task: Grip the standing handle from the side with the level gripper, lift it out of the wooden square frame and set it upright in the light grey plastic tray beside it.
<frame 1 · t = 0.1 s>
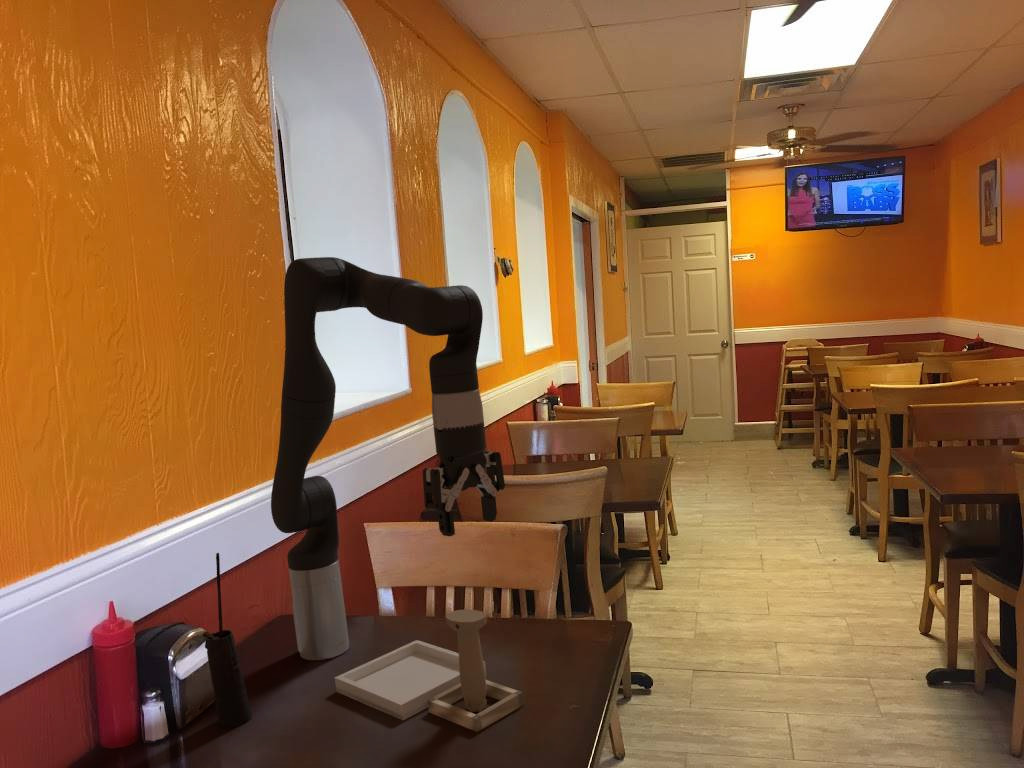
hand: (469, 527, 130), 29 cm above the table, tool pointing down, fingers open, 8 cm apart
butter churn: (228, 721, 139), on the table
handle: (476, 709, 135), resting in wooden square frame
tray: (411, 683, 146), on the table
wooden square frame: (476, 708, 135), on the table
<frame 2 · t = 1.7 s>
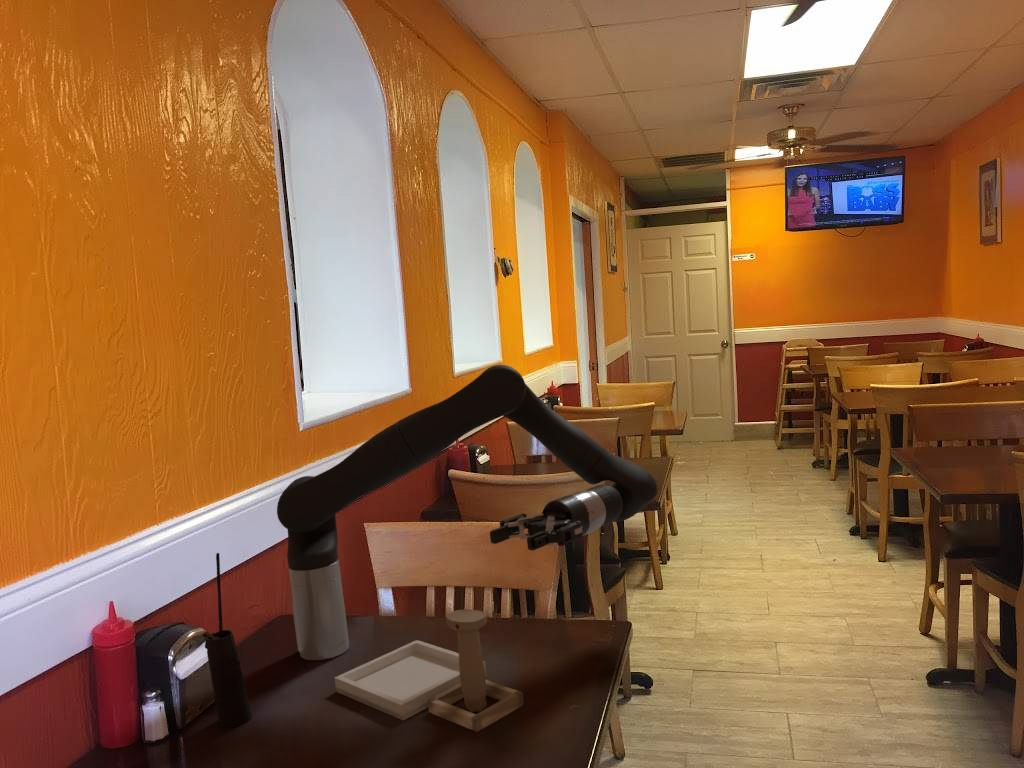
hand: (510, 541, 140), 24 cm above the table, tool horizontal, fingers open, 8 cm apart
nothing on the table moved.
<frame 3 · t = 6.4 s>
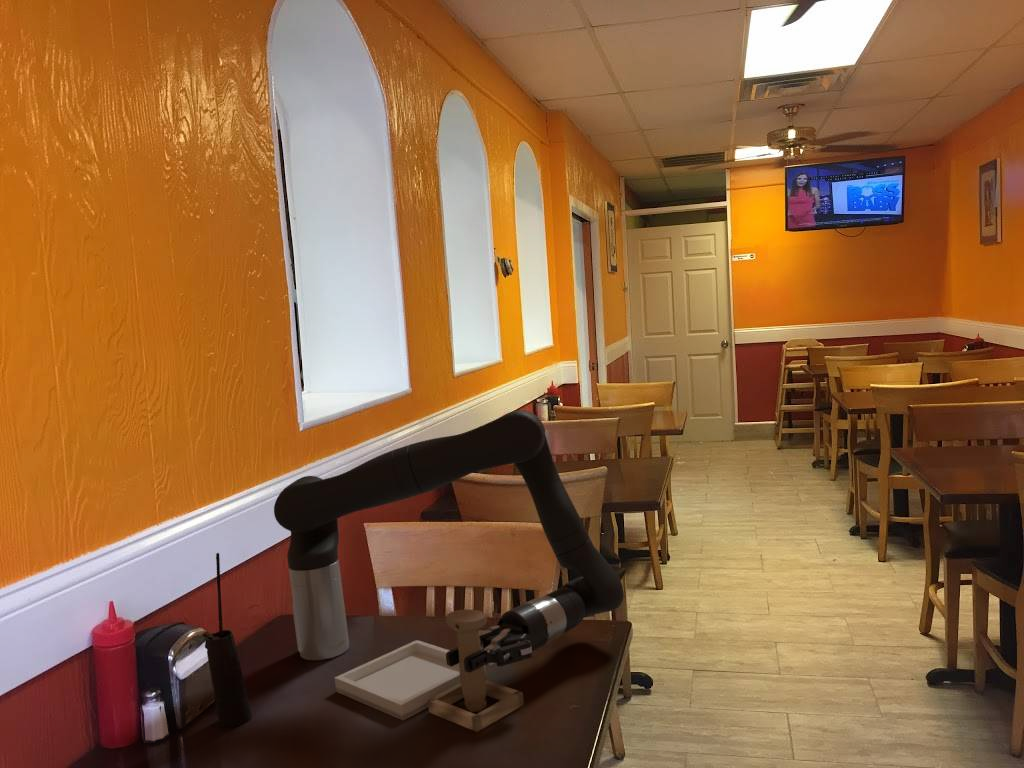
hand: (457, 662, 132), 9 cm above the table, tool horizontal, fingers closed on handle, 3 cm apart
handle: (476, 709, 135), resting in wooden square frame, touching gripper
everything else where it was.
when the fingers open (10 cm above the table, at t = 11.3 s): handle stays where it is, resting on tray.
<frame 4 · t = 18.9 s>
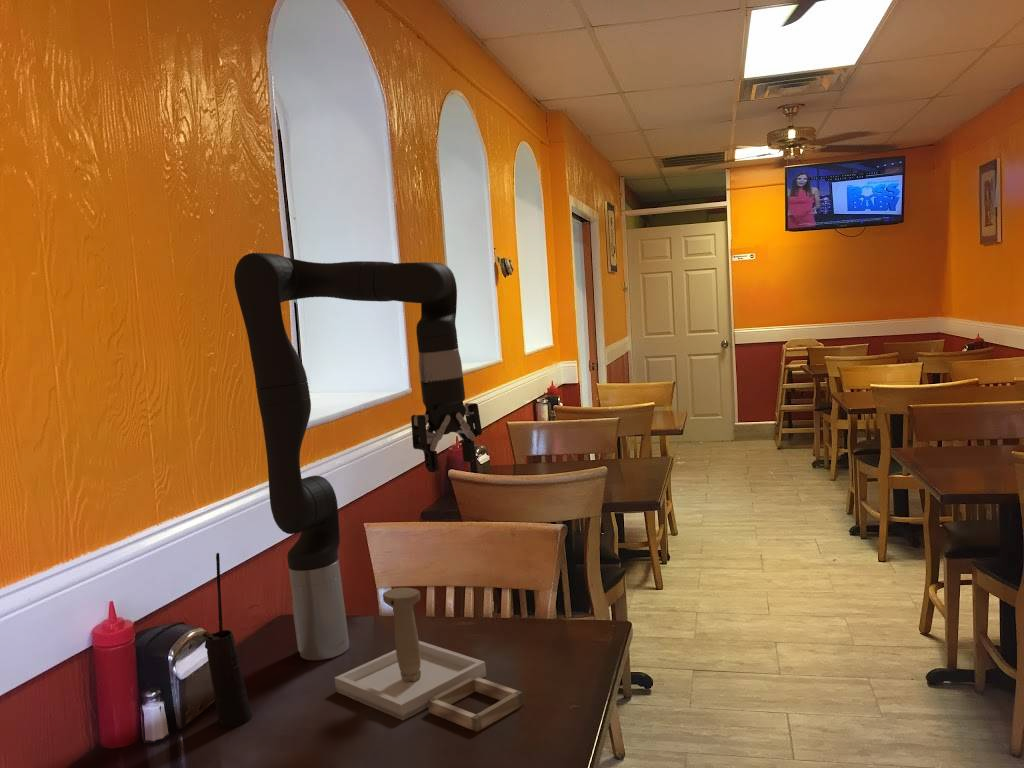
hand: (451, 466, 154), 34 cm above the table, tool pointing down, fingers open, 8 cm apart
handle: (411, 679, 146), point 1 cm above the table, touching tray
everything else where it was.
at the end: handle inside the target area on the tray (0.2 cm from its centre), point 0.6 cm above the tray's base; handle tilted 0°; the gripper is holding nothing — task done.
